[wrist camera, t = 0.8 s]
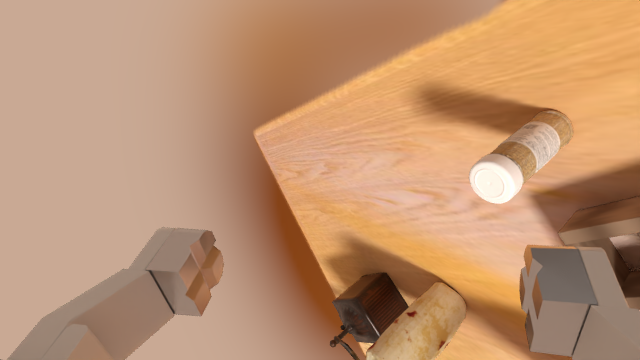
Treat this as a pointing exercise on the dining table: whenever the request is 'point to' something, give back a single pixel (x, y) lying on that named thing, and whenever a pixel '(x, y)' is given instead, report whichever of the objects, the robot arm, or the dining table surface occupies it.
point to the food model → (422, 327)
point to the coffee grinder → (368, 309)
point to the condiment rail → (595, 232)
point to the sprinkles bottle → (520, 156)
